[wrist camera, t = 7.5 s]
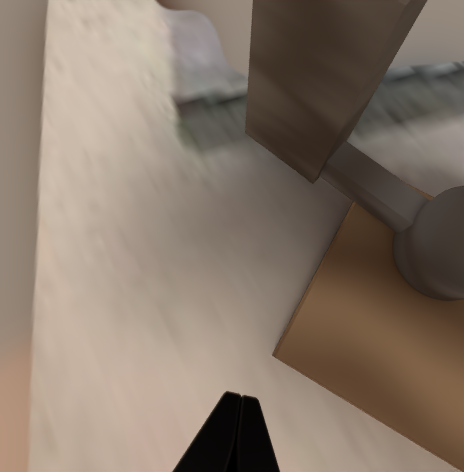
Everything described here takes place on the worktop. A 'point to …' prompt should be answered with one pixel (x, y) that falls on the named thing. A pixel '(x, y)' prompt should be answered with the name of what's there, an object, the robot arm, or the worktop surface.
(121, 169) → the worktop surface
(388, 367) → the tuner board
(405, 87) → the worktop surface
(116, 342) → the worktop surface
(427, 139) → the worktop surface
